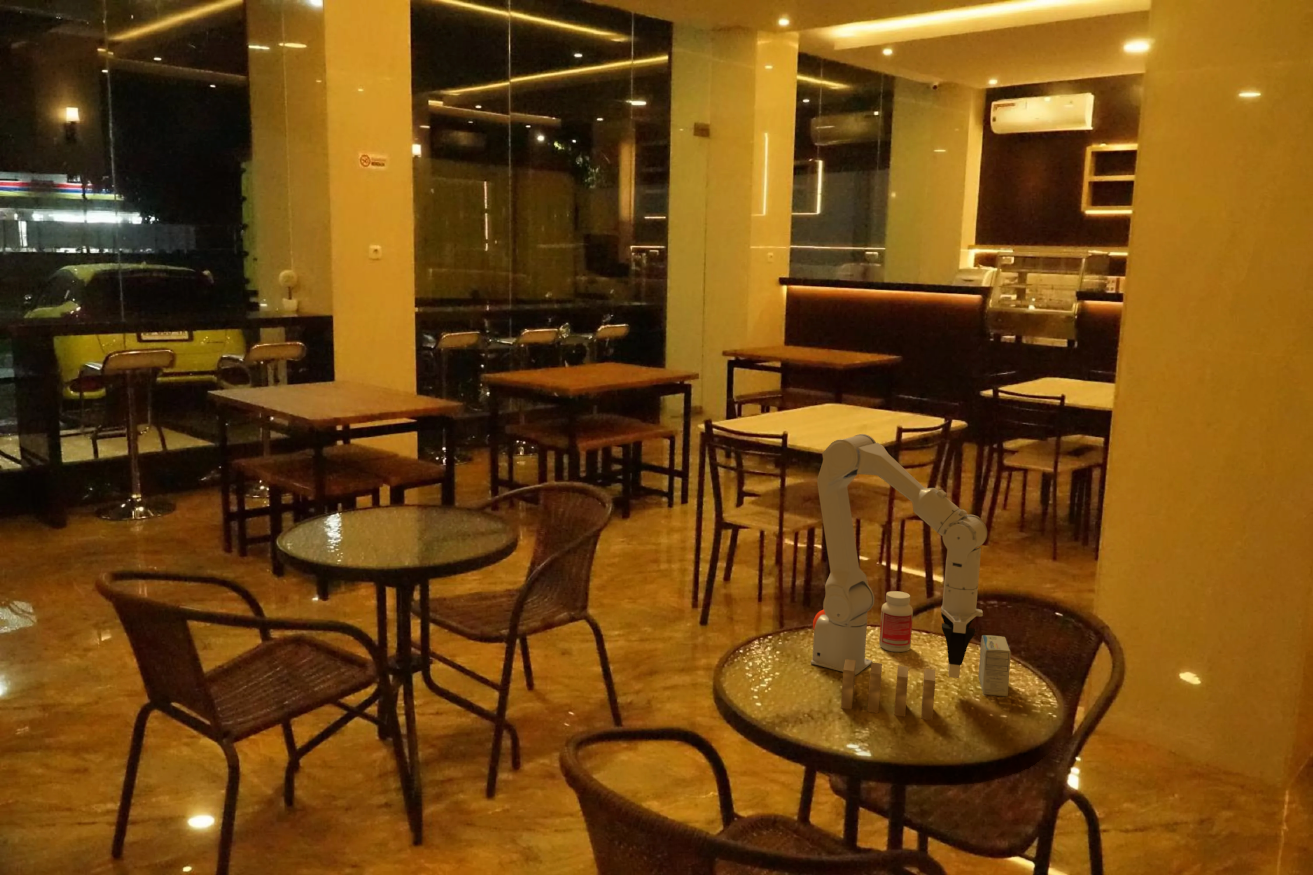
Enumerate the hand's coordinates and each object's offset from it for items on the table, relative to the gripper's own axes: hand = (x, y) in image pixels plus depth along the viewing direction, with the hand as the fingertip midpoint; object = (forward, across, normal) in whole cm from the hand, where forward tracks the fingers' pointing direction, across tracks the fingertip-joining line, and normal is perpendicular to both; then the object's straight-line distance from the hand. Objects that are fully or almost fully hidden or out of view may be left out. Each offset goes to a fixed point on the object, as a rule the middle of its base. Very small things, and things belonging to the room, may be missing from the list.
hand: (954, 658), depth 185 cm
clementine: (+7, +20, +24) cm, 32 cm away
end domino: (+3, 0, 0) cm, 3 cm away
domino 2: (+7, -9, +13) cm, 18 cm away
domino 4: (+7, -9, +4) cm, 12 cm away
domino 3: (+7, -9, +9) cm, 15 cm away
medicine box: (+7, +6, -7) cm, 12 cm away
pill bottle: (+7, +21, +11) cm, 25 cm away
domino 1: (+7, -9, +18) cm, 21 cm away
